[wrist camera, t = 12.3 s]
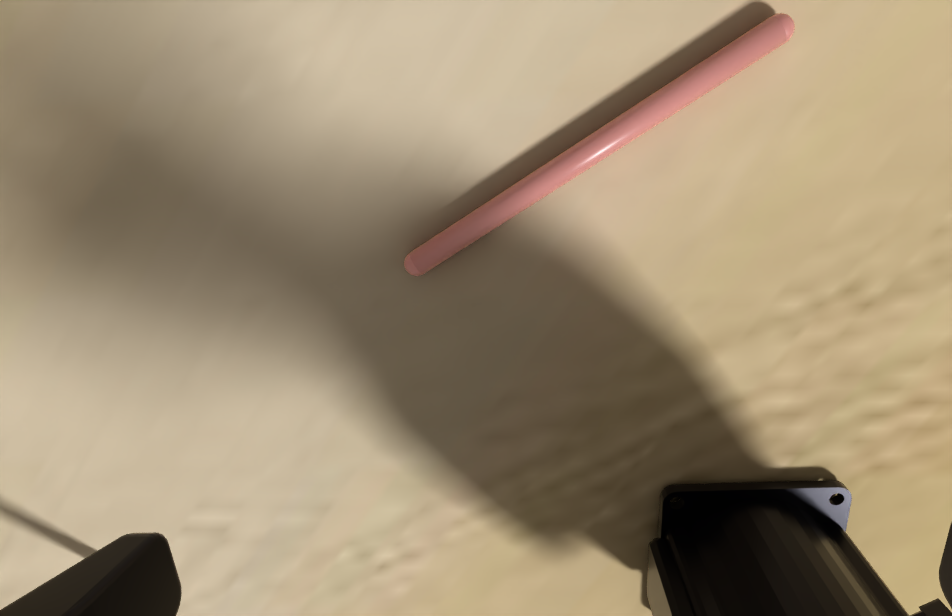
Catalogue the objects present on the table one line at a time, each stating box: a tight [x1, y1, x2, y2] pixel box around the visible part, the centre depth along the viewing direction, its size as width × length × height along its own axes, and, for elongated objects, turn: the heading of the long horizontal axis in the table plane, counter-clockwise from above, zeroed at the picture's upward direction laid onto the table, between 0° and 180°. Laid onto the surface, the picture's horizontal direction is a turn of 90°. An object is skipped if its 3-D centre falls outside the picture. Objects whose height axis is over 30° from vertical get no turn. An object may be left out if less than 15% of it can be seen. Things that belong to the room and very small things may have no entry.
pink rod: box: [404, 13, 795, 276], centre depth 18 cm, size 13×1×1 cm, turn 124°
